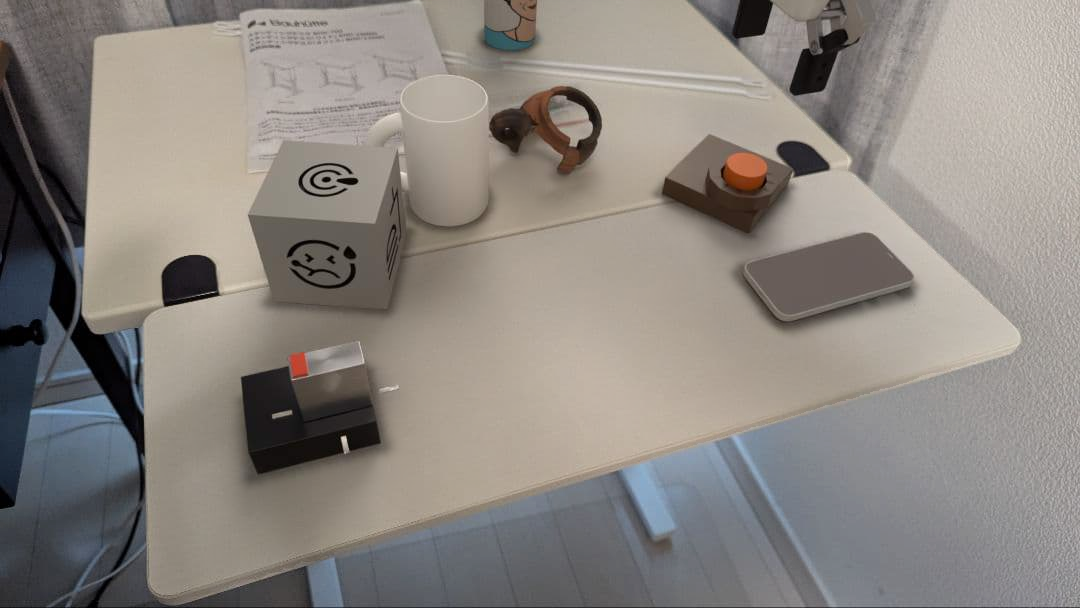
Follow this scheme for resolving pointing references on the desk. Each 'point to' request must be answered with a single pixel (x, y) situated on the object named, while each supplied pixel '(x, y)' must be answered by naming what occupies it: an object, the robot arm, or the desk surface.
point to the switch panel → (298, 424)
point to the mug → (442, 148)
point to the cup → (510, 23)
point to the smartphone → (827, 275)
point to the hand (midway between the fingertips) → (775, 62)
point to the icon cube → (331, 224)
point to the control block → (723, 184)
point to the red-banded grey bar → (330, 380)
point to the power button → (745, 171)
